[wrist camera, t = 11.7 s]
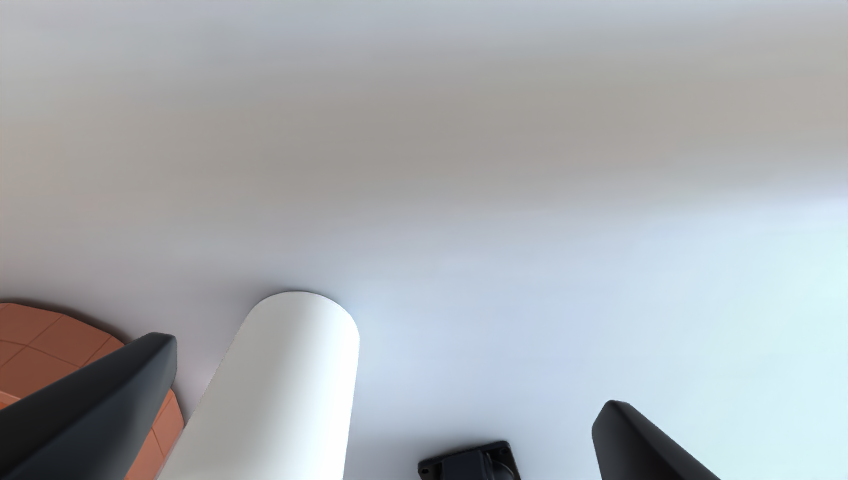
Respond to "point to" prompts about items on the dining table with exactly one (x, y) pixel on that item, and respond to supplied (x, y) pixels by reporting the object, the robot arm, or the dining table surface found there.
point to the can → (276, 397)
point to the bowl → (62, 355)
